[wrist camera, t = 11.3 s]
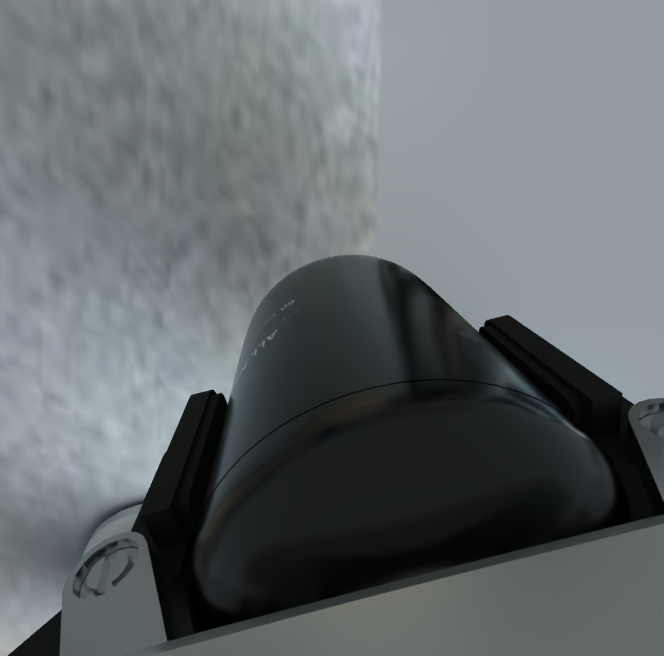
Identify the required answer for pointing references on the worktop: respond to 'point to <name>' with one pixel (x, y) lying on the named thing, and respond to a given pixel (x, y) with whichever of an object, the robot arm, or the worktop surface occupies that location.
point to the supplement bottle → (379, 449)
